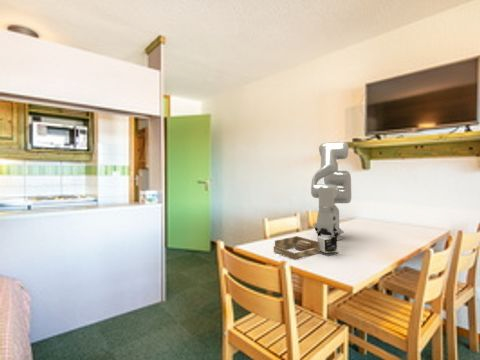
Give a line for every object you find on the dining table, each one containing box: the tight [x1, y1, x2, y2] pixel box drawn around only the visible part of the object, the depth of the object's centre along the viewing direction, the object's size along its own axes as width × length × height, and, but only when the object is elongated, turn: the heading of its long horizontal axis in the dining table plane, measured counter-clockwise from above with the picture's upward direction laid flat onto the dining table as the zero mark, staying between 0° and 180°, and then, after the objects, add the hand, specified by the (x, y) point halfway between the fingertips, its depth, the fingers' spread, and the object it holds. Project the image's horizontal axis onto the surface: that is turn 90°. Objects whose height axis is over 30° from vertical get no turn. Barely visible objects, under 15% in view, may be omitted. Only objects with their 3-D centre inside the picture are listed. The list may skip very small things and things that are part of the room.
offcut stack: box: [295, 240, 312, 252], centre depth 144 cm, size 4×9×5 cm, turn 32°
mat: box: [318, 250, 340, 257], centre depth 139 cm, size 8×8×1 cm
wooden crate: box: [273, 235, 320, 261], centre depth 140 cm, size 17×16×6 cm
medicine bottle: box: [316, 228, 338, 253], centre depth 139 cm, size 7×7×12 cm
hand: (327, 242), depth 139 cm, fingers closed on medicine bottle, 8 cm apart
